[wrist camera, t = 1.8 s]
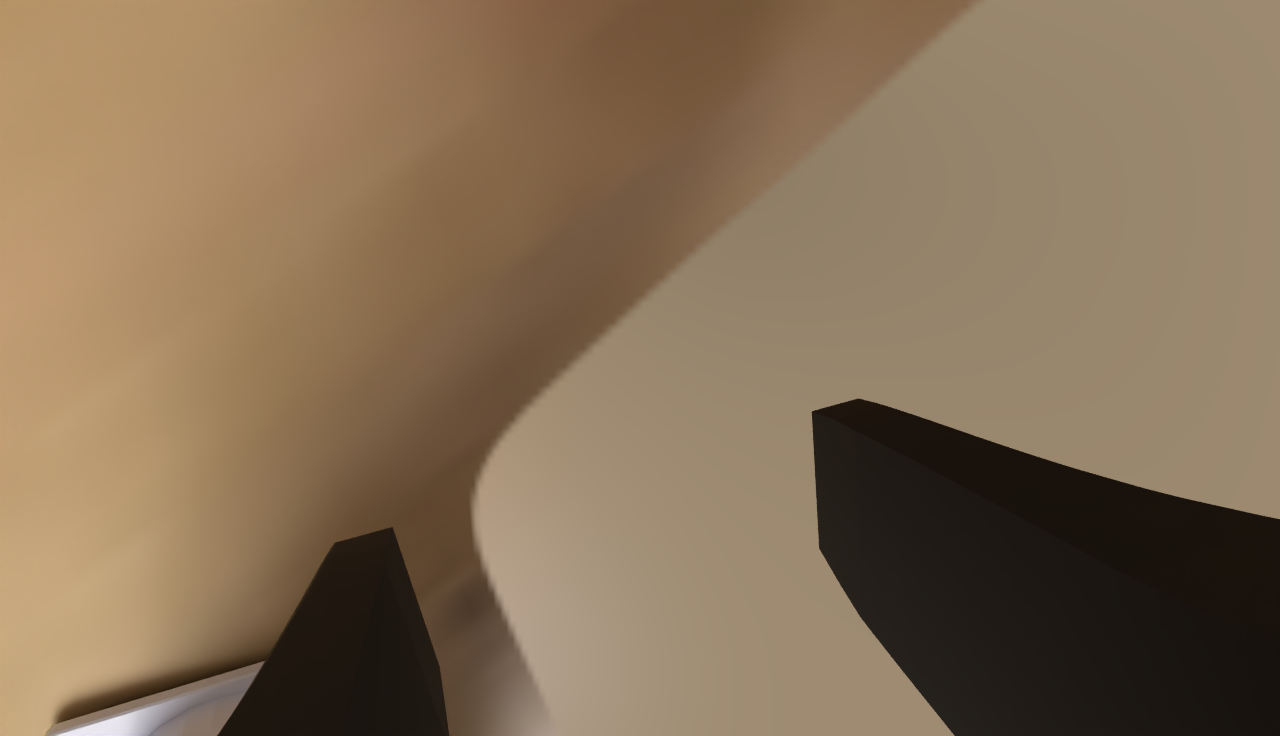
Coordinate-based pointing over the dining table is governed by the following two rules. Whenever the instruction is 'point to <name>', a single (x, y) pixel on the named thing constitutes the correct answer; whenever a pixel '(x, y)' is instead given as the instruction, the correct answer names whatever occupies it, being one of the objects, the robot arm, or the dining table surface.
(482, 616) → the dining table surface
